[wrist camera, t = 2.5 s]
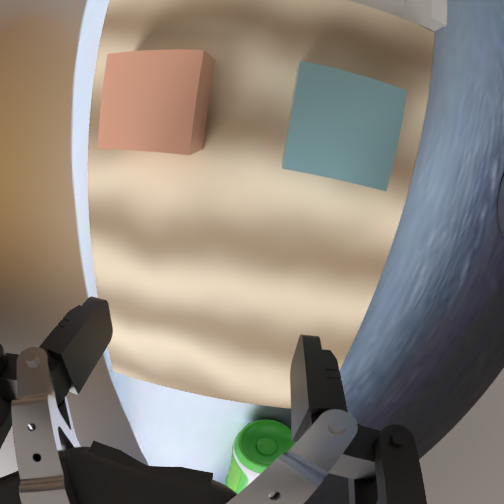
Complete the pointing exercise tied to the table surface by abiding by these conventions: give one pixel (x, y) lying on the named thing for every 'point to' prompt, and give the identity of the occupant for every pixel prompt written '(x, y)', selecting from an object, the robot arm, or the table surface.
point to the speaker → (256, 451)
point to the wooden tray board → (245, 198)
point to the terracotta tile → (156, 101)
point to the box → (413, 11)
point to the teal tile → (343, 126)
